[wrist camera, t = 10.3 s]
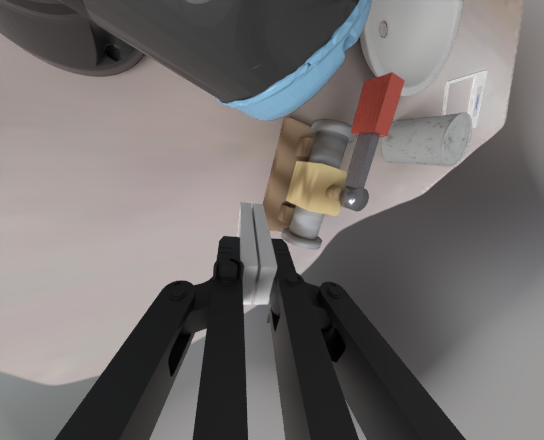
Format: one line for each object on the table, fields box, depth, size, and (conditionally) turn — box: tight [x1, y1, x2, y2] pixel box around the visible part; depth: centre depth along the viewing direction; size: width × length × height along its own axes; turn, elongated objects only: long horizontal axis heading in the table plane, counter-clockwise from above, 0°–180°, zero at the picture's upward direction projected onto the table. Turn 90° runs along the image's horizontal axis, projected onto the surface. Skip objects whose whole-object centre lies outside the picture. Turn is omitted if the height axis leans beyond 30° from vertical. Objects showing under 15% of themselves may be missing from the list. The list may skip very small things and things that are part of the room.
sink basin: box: [360, 0, 463, 97], centre depth 34 cm, size 24×24×7 cm
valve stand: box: [263, 117, 356, 250], centre depth 33 cm, size 20×11×13 cm, turn 164°
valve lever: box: [339, 72, 405, 211], centre depth 25 cm, size 3×16×4 cm, turn 168°
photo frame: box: [442, 70, 488, 129], centre depth 55 cm, size 15×1×18 cm
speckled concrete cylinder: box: [381, 112, 472, 167], centre depth 43 cm, size 10×10×12 cm
